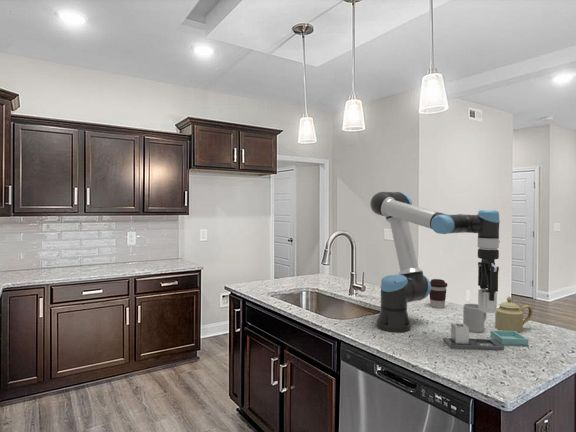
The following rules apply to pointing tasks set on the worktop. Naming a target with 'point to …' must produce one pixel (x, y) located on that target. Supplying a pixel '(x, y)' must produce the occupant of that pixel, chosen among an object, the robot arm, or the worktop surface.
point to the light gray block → (459, 334)
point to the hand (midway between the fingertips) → (487, 306)
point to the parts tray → (509, 338)
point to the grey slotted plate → (475, 344)
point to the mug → (474, 318)
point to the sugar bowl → (511, 316)
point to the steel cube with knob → (485, 302)
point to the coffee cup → (437, 293)
